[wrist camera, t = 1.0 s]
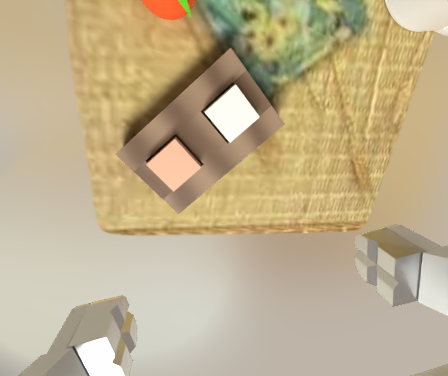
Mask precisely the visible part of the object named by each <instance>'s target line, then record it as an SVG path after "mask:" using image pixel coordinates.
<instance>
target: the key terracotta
mask: <svg viewBox="0 0 448 376" xmlns="http://www.w3.org/2000/svg"><path fill="white" fill-rule="evenodd" d="M146 165H147V166H148V167H149V168H150V169H151V170H152V171H153V172H154V173H155V174H156V175H157V176H158V177H159V178H160V179H161V180H162V181H163V182H164V183H165V184H166V185H167V186H168V187H169V188H170V189H171V190H172V191H173V192H174V191H175V190H176V189H177V188H178V187H180V186H181V185H182V184H183V183H184V182H185V181H187V180H188V179H189V178H190V177H191V176H192V175H193V174H195V173H196V172H197V171H198V170H199V169H200V168H201V163H200V162H199V161H198V160H197V158H196V157H195V156H194V155H193V154H192V153H191V152H190V151H189V150H188V149H187V148H186V146H185V145H184V144H183V143H182V142H181V141H180V140H179V139H178V138H177V137H174V138H173V139H172V140H171V141H170V142H169V143H168V144H167V145H166V146H164V147H163V148H162V149H161V150H160V151H159V152H158V153H157V154H156V155H154V156H153V157H152V158H151V159H150V160H149V161H148V163H147V164H146Z"/></svg>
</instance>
